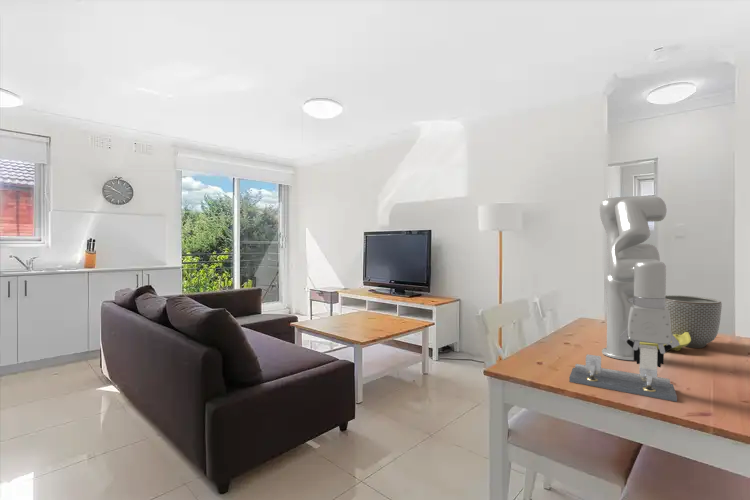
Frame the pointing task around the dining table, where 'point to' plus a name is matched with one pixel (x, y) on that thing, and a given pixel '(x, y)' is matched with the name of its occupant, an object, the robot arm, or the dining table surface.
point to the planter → (694, 318)
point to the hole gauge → (620, 380)
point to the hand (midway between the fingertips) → (648, 363)
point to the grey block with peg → (648, 363)
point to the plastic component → (682, 339)
